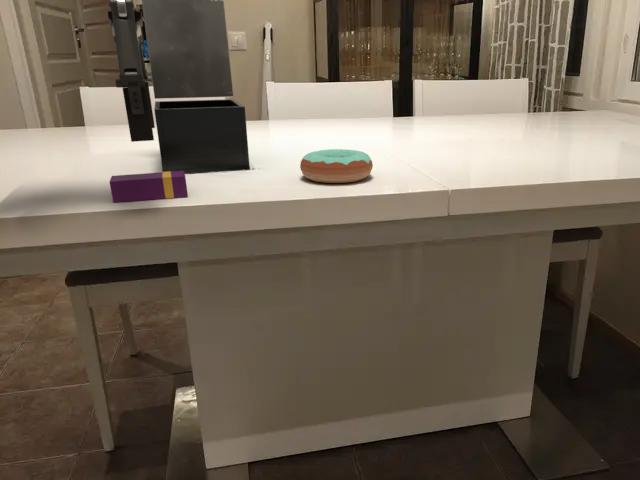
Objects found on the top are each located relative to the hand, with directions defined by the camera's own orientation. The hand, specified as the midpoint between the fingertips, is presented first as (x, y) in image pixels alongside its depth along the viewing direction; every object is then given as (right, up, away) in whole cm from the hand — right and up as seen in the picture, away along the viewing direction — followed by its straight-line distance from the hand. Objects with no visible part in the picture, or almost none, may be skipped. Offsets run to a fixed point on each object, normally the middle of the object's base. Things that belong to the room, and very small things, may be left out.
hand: (144, 134), depth 77 cm
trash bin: (+1, +1, +27) cm, 27 cm away
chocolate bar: (0, -8, +3) cm, 9 cm away
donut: (+26, -4, +15) cm, 30 cm away
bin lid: (-2, +23, +27) cm, 36 cm away
